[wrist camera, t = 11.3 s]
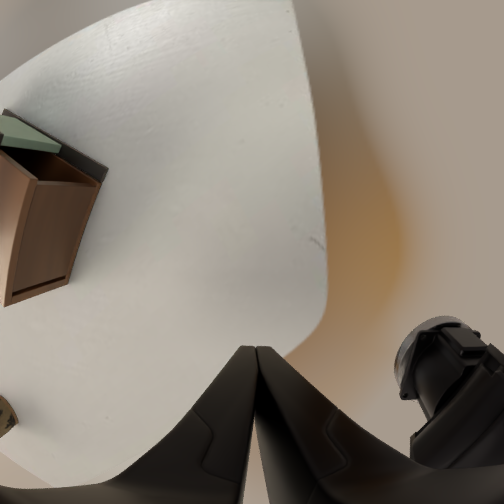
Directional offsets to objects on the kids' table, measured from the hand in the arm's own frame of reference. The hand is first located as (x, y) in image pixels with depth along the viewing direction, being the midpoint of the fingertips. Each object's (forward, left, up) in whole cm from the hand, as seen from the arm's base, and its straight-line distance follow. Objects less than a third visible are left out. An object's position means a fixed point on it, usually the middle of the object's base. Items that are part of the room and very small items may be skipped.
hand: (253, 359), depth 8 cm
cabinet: (+5, +26, -13) cm, 30 cm away
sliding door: (+11, +25, -12) cm, 29 cm away
